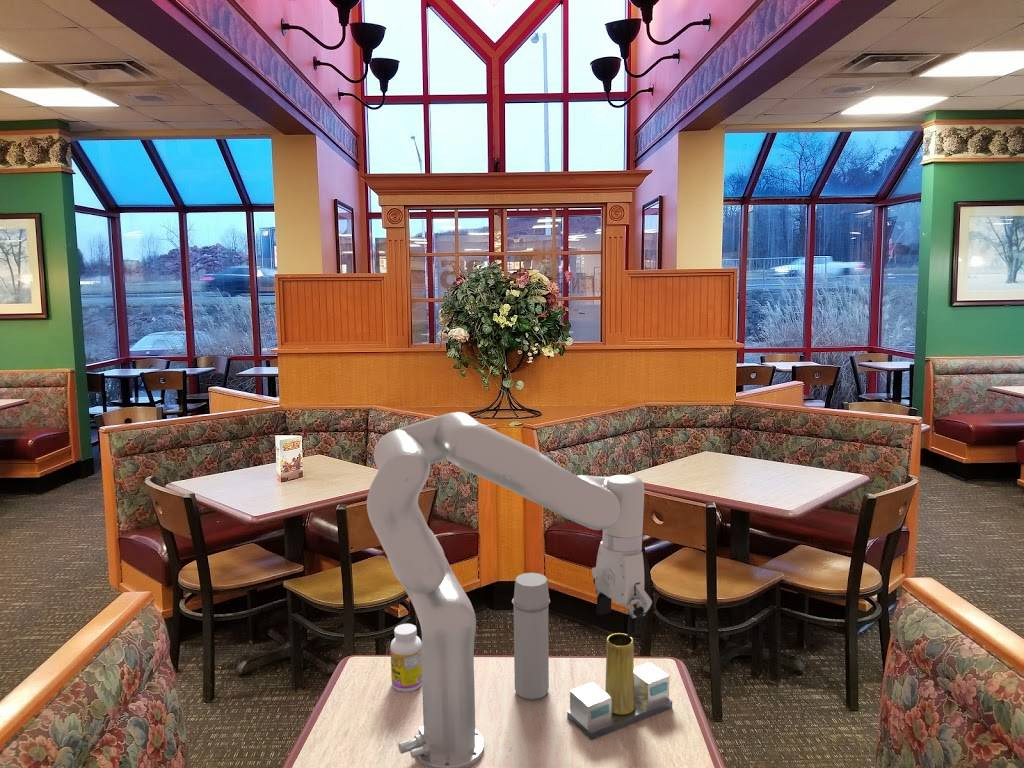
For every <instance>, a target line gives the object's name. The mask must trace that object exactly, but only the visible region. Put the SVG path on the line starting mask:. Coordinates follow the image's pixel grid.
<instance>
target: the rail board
mask: <svg viewBox="0 0 1024 768" xmlns="http://www.w3.org/2000/svg"><path fill="white" fill-rule="evenodd" d="M634 698H635V705H636V707H635V709H634V711H633V712H631V713H629V714H625V715H618V714H614V713H611V702H612V697H610V696H609V695H608V694H607V693H606V690H605V691H604V689H602V688H601V687H600V686H599V685H597V684H596V683H595V682H593V681H592V682H589V683H587V684H584V685H581V686H578V687H576V688H572V689H570V690H569V700H570V701H569V710H567V711H566V714H567V715H566V718H567V719H568V720H569V721H570V722H571V723H572V724H573V725H574V726H575V727H576V728H577V729H578V730H580V732H581V733H582V734H584V735H585V736H586V737H587V739H589V740H590V741H594V740H596V739H597V738H600V737H603V736H606V735H608V734H610V733H613V732H615V731H617V730H620V729H622V728H625V727H627V726H630V725H633V724H635V723H638V722H640V721H643V720H645V719H648V718H651V717H653V716H655V715H658V714H659V713H663V712H665V711H667V710H671V709H673V700H671V699H670V675H669V674H668V673H667V672H665V671H664V670H662V669H661V668H660V667H659V666H657V665H655V664H654V663H652V662H651V661H648V662H645V663H643V664H640V665H637V666H635V667H634Z"/></svg>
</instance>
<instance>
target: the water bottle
mask: <svg viewBox="0 0 1024 768" xmlns="http://www.w3.org/2000/svg"><path fill="white" fill-rule="evenodd" d="M511 603H512V604H513V652H514V653H513V655H514V656H513V657H514V659H513V661H514V663H513V664H514V669H513V670H514V671H513V672H514V690H515V692H516V694H517V695H518V696H519V697H521V698H523V699H527V700H537V699H539V700H540V699H541V698H542V697H545V695H547V693H548V692H549V688H550V685H549V680H550V677H549V675H550V673H549V672H550V670H549V669H550V667H549V664H550V663H549V662H550V661H549V657H550V655H549V645H550V643H549V636H550V635H549V604H550V603H551V599H550V593H549V582H548V578H547V577H546V576H545V574H542V573H537V572H525V573H522V574H519V575H517V576H516V578H515V581H514V591H513V598H512V600H511Z"/></svg>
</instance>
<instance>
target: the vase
mask: <svg viewBox="0 0 1024 768" xmlns="http://www.w3.org/2000/svg"><path fill="white" fill-rule="evenodd" d="M605 644H606V645H605V648H606V649H605V650H606V651H605V652H606V656H605V657H606V658H605V659H606V660H605V663H606V664H605V692H606V693H607V694H608V695H609V696H610V697H612V702H611V713H614V714H618V715H625V714H629V713H631V712H633V711H634V709H635V707H636V705H635V698H634V661H635V660H634V659H635V658H634V657H635V656H634V654H635V652H634V650H635V649H634V638H633V636H632V637H629V636H628V635H627V633H621V632H617V633H616V632H615V633H612V634H610V635H608V636H607V637H606V643H605Z"/></svg>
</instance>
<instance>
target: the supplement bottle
mask: <svg viewBox="0 0 1024 768" xmlns="http://www.w3.org/2000/svg"><path fill="white" fill-rule="evenodd" d="M417 630H418V629H417V626H416V625H414V624H412V623H402V624H399V625H397V626H396V627H395V628H394V630H393V631H394V633H393V634H394V638H392V640H391V643H390V645H389V646H390V648H389V649H390V650H389V651H390V672H391V673H390V674H391V686H392V688H394V690H396V691H398V692H401V691H402V693H408V692H409V691H410V692H412V691H415V690H417V689H419V688H420V687H422V674H421V648H422V639H421V638H420V637H419V636H418V635H417V634H418V632H417Z"/></svg>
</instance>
